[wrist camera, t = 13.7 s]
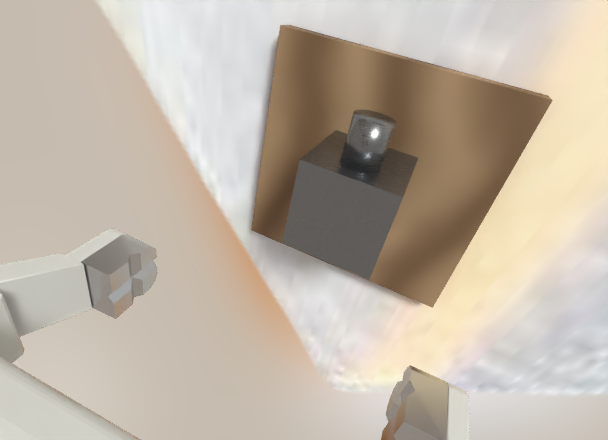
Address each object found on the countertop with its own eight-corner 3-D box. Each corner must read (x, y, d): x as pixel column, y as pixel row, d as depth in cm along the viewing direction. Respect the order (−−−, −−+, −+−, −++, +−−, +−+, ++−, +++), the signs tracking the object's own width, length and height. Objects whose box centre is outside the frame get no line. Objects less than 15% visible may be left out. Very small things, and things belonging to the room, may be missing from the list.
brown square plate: (258, 223, 36) (225, 254, 31) (289, 25, 26) (247, 26, 21) (433, 296, 32) (427, 346, 27) (548, 95, 22) (568, 117, 17)
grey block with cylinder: (317, 201, 30) (282, 242, 25) (346, 89, 25) (309, 109, 20) (389, 229, 29) (369, 279, 23) (435, 117, 24) (423, 147, 18)
